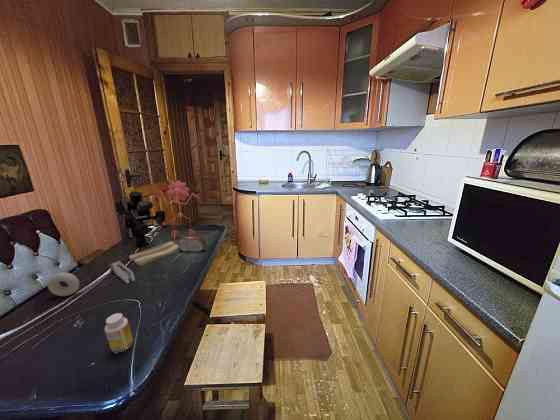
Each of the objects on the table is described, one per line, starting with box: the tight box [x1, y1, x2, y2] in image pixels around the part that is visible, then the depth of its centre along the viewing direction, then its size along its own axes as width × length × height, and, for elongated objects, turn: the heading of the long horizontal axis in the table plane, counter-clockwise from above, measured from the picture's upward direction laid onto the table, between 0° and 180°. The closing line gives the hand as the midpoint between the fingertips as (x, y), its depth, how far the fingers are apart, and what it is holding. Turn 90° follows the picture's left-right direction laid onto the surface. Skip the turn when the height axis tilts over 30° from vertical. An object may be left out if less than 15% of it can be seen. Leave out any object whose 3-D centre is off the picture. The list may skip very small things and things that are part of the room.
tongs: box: [109, 260, 136, 284], centre depth 106 cm, size 18×3×4 cm, turn 52°
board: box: [128, 240, 182, 267], centre depth 125 cm, size 13×22×2 cm, turn 142°
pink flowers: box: [154, 180, 202, 241], centre depth 142 cm, size 15×26×35 cm, turn 96°
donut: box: [47, 272, 80, 297], centre depth 92 cm, size 10×4×10 cm, turn 103°
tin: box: [176, 235, 207, 253], centre depth 126 cm, size 15×3×8 cm, turn 84°
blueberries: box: [72, 318, 92, 330], centre depth 78 cm, size 7×8×2 cm
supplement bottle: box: [104, 312, 134, 354], centre depth 68 cm, size 6×6×10 cm
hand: (152, 226), depth 114 cm, fingers open, 9 cm apart
